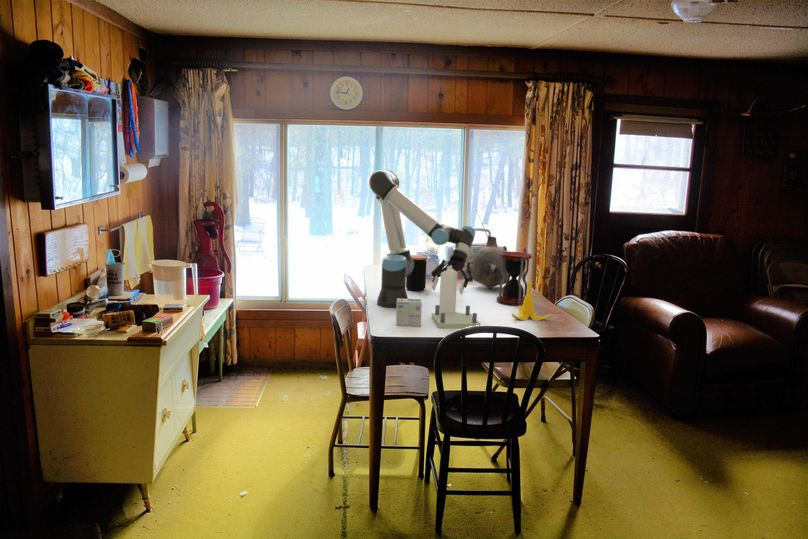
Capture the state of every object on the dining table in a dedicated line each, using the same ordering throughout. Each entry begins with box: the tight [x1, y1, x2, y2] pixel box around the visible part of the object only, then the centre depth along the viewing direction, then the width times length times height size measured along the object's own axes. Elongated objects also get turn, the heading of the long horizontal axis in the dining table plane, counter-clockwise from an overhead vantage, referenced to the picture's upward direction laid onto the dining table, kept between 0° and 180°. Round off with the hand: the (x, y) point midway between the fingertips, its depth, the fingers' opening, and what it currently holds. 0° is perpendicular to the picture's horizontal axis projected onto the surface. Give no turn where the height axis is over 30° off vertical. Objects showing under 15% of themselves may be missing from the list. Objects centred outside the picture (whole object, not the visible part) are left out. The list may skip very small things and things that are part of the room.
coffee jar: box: [405, 254, 428, 292], centre depth 345 cm, size 11×11×18 cm
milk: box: [438, 265, 458, 313], centre depth 296 cm, size 6×6×22 cm
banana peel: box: [510, 282, 552, 321], centre depth 291 cm, size 16×19×17 cm
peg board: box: [431, 304, 481, 329], centre depth 279 cm, size 18×18×6 cm
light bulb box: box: [395, 298, 423, 327], centre depth 273 cm, size 11×7×11 cm, turn 92°
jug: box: [471, 234, 508, 289], centre depth 355 cm, size 24×21×30 cm
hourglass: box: [496, 250, 533, 307], centre depth 323 cm, size 16×16×25 cm
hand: (446, 290), depth 294 cm, fingers open, 13 cm apart
